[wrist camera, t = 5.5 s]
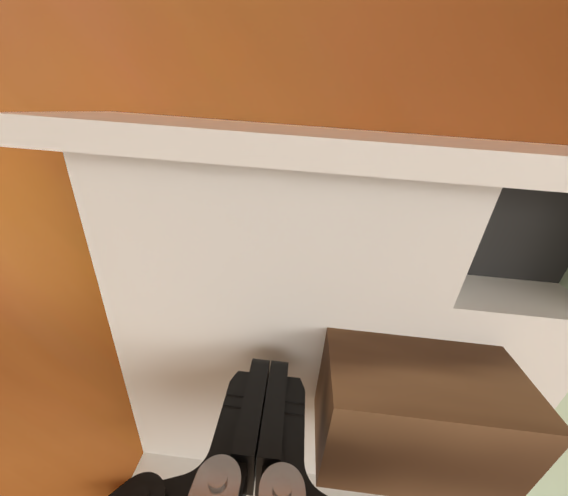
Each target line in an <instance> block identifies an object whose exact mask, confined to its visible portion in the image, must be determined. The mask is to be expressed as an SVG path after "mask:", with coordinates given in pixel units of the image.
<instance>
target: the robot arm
mask: <svg viewBox="0 0 568 496" xmlns="http://www.w3.org/2000/svg"><path fill="white" fill-rule="evenodd" d="M288 363H289V362H282V361H273V360H271V365H270V360H263V359H255V358H253V359H252V362H251V367H250V371H249V372H244V371H237V373H236V374H235V375H234V376H233V378H232V379H231V380H230V382H229V385H228V389H227V392H226V396H225V399H224V402H223V407H222V409H221V412H220V416H219V419H218V423H217V426H216V430H215V433H214V436H213V440H212V443H211V447H210V450H209V452H208V454H207V456H206V458H205V459H204V461H203V462H202V463H201V464H200V465H199V466H198V467H197V468H195V469H194V470H192V471H191V472H189V473H186V474H183V475H180V476H176V477H172V478H168V479H164V480H162V478H161V477H160V476H159V475H158V474H156V473H153V472H143V473H140V474H137V475H135V476H133V477H132V478H130V479H129V480H128V481H126V482H125V483H124V484H123V485H121V486H120V487H119V488H118V489H116V490H115V491H114V492H113V493H111V494H110V495H109V496H246V495H249V496H253V492H254V485H255V496H327V495H325V494H324V493H322V492H321V491H319V490H318V489H317V488H316V487H315V486H314V485H313V484H312V482H311V481H310V479H309V477H308V475H307V473H306V470H305V465H304V438H305V388H304V386H303V384H302V381H301V379H300V378H296V377H288V376H287V375H288ZM269 370H270V372H269ZM255 478H256V481H255Z"/></svg>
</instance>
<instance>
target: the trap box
mask: <svg viewBox="0 0 568 496" xmlns="http://www.w3.org/2000/svg"><path fill="white" fill-rule="evenodd" d="M0 147H11V148H23V149H35V150H48V151H60V152H63V155H64V159H65V163H66V166H67V170H68V174H69V178H70V181H71V185H72V189H73V192H74V196H75V200H76V204H77V207H78V211H79V215H80V218H81V222H82V226H83V229H84V233H85V237H86V241H87V244H88V248H89V252H90V255H91V259H92V263H93V266H94V270H95V274H96V278H97V281H98V285H99V289H100V292H101V296H102V300H103V304H104V307H105V311H106V315H107V318H108V322H109V326H110V329H111V333H112V337H113V341H114V344H115V348H116V352H117V355H118V359H119V363H120V367H121V370H122V374H123V378H124V381H125V385H126V389H127V392H128V396H129V400H130V404H131V407H132V411H133V415H134V418H135V422H136V426H137V429H138V433H139V437H140V441H141V444H142V448H143V452H144V453H143V455H142V457H141V459H140V461H139V463H138V465H137V467H136V469H135V472H134V474H133V476H135V475H137V474H140V473H143V472H153V473H156V474H158V475H159V476H160V477H161V478H162V480H164V479H168V478H172V477H176V476H180V475H183V474H186V473H189V472H191V471H192V470H194V469H195V468H197V467H198V466H199V465H200V464H201V463H202V462H203V461H204V459H205V458H206V456H207V454H208V452H209V450H210V447H211V443H212V440H213V436H214V433H215V430H216V426H217V423H218V419H219V416H220V412H221V409H222V407H223V402H224V399H225V396H226V392H227V389H228V385H229V382H230V380H231V379H232V378H233V376H234V375H235V374H236V373H237V371H244V372H249V371H250V367H251V362H252V359H253V358H255V359H263V360H270V365H271V360H273V361H282V362H289V363H288V375H287V376H288V377H296V378H300V379H301V381H302V384H303V386H304V388H305V438H304V465H305V470H306V473H307V475H308V477H309V479H310V481H311V482H312V484H313V485H314V486H315V487H316V463H315V408H314V399H315V393H316V387H317V382H318V376H319V371H320V365H321V359H322V354H323V348H324V342H325V337H326V331H327V327H329V328H338V329H348V330H357V331H366V332H375V333H384V334H394V335H403V336H412V337H421V338H430V339H440V340H449V341H458V342H467V343H476V344H486V345H495V346H503V347H504V348H505V350H506V351H507V352H508V353H509V355H510V356H511V357H512V358H513V359H514V361H515V362H516V363H517V364H518V366H519V367H520V368H521V369H522V370H523V372H524V373H525V374H526V375H527V376H528V378H529V379H530V380H531V381H532V383H533V384H534V385H535V386H536V387H537V389H538V390H539V391H540V392H541V394H542V395H543V396H544V397H545V398H546V400H547V401H548V402H549V403H550V405H551V406H552V407H553V408H554V409H555V411H556V412H557V413H558V414H559V416H560V417H561V418H562V419H563V420H564V422H565V423H566V424H567V425H568V145H558V144H545V143H531V142H518V141H504V140H491V139H477V138H464V137H451V136H437V135H424V134H410V133H397V132H383V131H370V130H356V129H343V128H330V127H316V126H303V125H289V124H276V123H262V122H249V121H236V120H222V119H209V118H195V117H182V116H168V115H155V114H141V113H128V112H115V111H83V112H0ZM269 372H270V370H269ZM133 476H132V477H133ZM255 481H256V478H255ZM316 488H317V489H318V490H319V491H321V492H322V493H324V494H325V495H327V496H383V495H375V494H368V493H360V492H353V491H345V490H337V489H330V488H322V487H316ZM246 496H249V495H246ZM253 496H255V485H254V492H253ZM526 496H568V449H567V450H566V451H565V452H564V453H563V454H562V456H561V457H560V458H559V459H558V460H557V461H556V462H555V463H554V465H553V466H552V467H551V468H550V469H549V470H548V471H547V472H546V474H545V475H544V476H543V477H542V478H541V479H540V480H539V481H538V483H537V484H536V485H535V486H534V487H533V488H532V489H531V490H530V492H529V493H528V494H527V495H526Z"/></svg>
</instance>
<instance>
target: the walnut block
mask: <svg viewBox="0 0 568 496" xmlns="http://www.w3.org/2000/svg"><path fill="white" fill-rule="evenodd" d="M314 408H315V463H316V487H322V488H330V489H337V490H345V491H353V492H360V493H368V494H375V495H383V496H526V495H527V494H528V493H529V492H530V490H531V489H532V488H533V487H534V486H535V485H536V484H537V483H538V481H539V480H540V479H541V478H542V477H543V476H544V475H545V474H546V472H547V471H548V470H549V469H550V468H551V467H552V466H553V465H554V463H555V462H556V461H557V460H558V459H559V458H560V457H561V456H562V454H563V453H564V452H565V451H566V450H567V449H568V425H567V424H566V423H565V422H564V420H563V419H562V418H561V417H560V416H559V414H558V413H557V412H556V411H555V409H554V408H553V407H552V406H551V405H550V403H549V402H548V401H547V400H546V398H545V397H544V396H543V395H542V394H541V392H540V391H539V390H538V389H537V387H536V386H535V385H534V384H533V383H532V381H531V380H530V379H529V378H528V376H527V375H526V374H525V373H524V372H523V370H522V369H521V368H520V367H519V366H518V364H517V363H516V362H515V361H514V359H513V358H512V357H511V356H510V355H509V353H508V352H507V351H506V350H505V348H504V347H503V346H495V345H486V344H476V343H467V342H458V341H449V340H440V339H430V338H421V337H412V336H403V335H394V334H384V333H375V332H366V331H357V330H348V329H338V328H329V327H327V331H326V337H325V342H324V348H323V354H322V359H321V365H320V371H319V376H318V382H317V387H316V393H315V399H314Z"/></svg>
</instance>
